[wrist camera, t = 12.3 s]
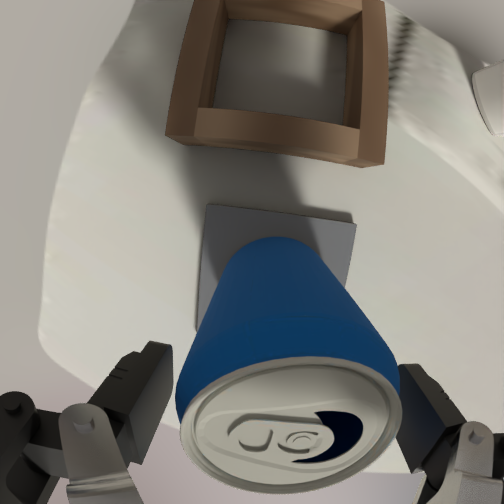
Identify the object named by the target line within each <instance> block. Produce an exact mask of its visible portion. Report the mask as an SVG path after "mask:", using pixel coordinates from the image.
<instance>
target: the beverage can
mask: <svg viewBox="0 0 504 504" xmlns="http://www.w3.org/2000/svg"><path fill="white" fill-rule="evenodd" d="M399 392H400V376H399V371H398V366H397V363H396V360H395V358H394V355H393V353H392V352H391V350H390V349H389V347H388V346H387V344H386V343H385V341H384V340H383V339H382V337H381V336H380V335H379V333H378V332H377V330H376V329H375V328H374V326H373V325H372V324H371V322H370V321H369V320H368V318H367V317H366V316H365V314H364V313H363V312H362V310H361V309H360V308H359V306H358V305H357V304H356V302H355V301H354V300H353V299H352V297H351V296H350V295H349V293H348V292H347V291H346V289H345V288H344V287H343V286H342V284H341V283H340V282H339V281H338V279H337V278H336V277H335V275H334V274H333V273H332V272H331V270H330V269H329V268H328V267H327V265H326V264H325V263H324V262H323V260H322V259H321V258H320V257H319V255H318V254H317V253H316V252H315V251H314V250H313V249H311V248H310V247H309V246H307V245H306V244H304V243H302V242H300V241H297V240H295V239H291V238H287V237H279V236H277V237H266V238H261V239H258V240H255V241H253V242H250V243H248V244H247V245H245V246H243V247H242V248H241V249H240V250H238V251H237V252H236V253H235V254H234V255H233V256H232V258H231V259H230V260H229V262H228V263H227V265H226V267H225V269H224V271H223V273H222V276H221V278H220V280H219V283H218V285H217V287H216V290H215V292H214V294H213V297H212V299H211V301H210V304H209V306H208V308H207V311H206V313H205V315H204V318H203V320H202V322H201V325H200V327H199V329H198V332H197V334H196V337H195V339H194V341H193V344H192V346H191V349H190V351H189V353H188V356H187V358H186V361H185V363H184V365H183V368H182V370H181V373H180V375H179V379H178V382H177V385H176V393H175V402H176V411H177V415H178V418H179V422H180V424H181V426H180V439H181V443H182V446H183V449H184V451H185V453H186V455H187V456H188V457H189V459H190V460H191V461H192V463H193V464H194V465H195V466H196V467H198V468H199V469H200V470H201V471H202V472H204V473H205V474H207V475H208V476H209V477H211V478H213V479H215V480H217V481H219V482H221V483H223V484H225V485H228V486H231V487H233V488H237V489H240V490H245V491H249V492H254V493H262V494H296V493H304V492H309V491H314V490H318V489H322V488H326V487H329V486H332V485H335V484H337V483H340V482H342V481H344V480H347V479H349V478H351V477H353V476H354V475H356V474H358V473H360V472H361V471H363V470H364V469H366V468H367V467H369V466H370V465H371V464H372V463H374V462H375V461H376V460H377V459H378V458H379V457H380V456H381V455H382V454H383V453H384V452H385V451H386V450H387V449H388V447H389V446H390V445H391V443H392V442H393V440H394V439H395V437H396V435H397V433H398V431H399V428H400V425H401V421H402V406H401V401H400V399H399Z"/></svg>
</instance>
